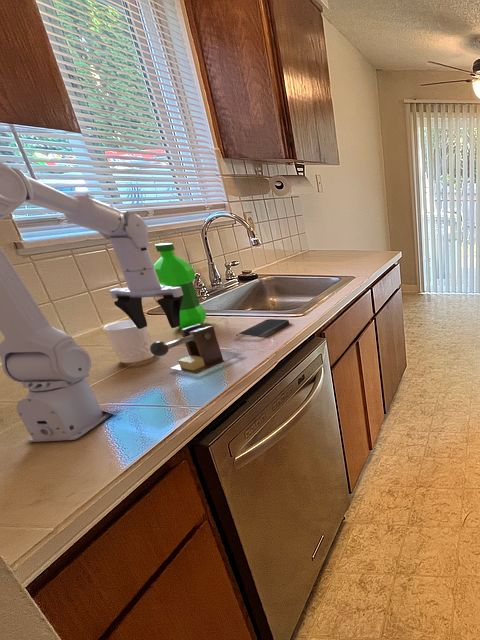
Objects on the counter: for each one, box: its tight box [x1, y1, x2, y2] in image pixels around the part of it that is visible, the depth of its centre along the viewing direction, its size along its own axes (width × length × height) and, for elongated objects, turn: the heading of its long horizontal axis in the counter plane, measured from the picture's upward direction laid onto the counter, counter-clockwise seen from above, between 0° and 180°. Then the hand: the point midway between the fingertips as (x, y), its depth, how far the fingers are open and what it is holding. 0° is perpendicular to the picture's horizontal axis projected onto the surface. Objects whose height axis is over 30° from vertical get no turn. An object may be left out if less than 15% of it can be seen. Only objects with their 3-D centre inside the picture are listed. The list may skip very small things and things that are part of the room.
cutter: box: [150, 328, 201, 357], centre depth 90 cm, size 12×3×3 cm, turn 159°
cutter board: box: [171, 324, 242, 375], centre depth 95 cm, size 12×9×10 cm
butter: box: [177, 355, 205, 370], centre depth 94 cm, size 3×4×2 cm
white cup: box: [102, 319, 155, 364], centre depth 98 cm, size 8×8×10 cm
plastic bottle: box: [153, 242, 207, 329], centre depth 119 cm, size 10×10×25 cm
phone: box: [235, 318, 290, 339], centre depth 119 cm, size 8×1×15 cm
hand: (159, 327), depth 94 cm, fingers open, 7 cm apart
